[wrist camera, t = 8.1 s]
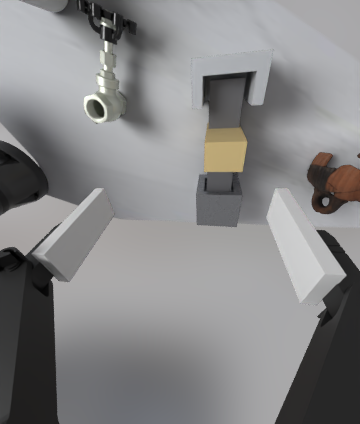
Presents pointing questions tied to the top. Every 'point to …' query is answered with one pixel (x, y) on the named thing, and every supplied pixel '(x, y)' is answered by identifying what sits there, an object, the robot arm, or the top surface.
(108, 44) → the valve
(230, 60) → the socket
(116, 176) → the top surface
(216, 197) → the gray block
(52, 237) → the robot arm
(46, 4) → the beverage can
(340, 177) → the rusty metal ring bracket
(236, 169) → the two-tone stepped block
